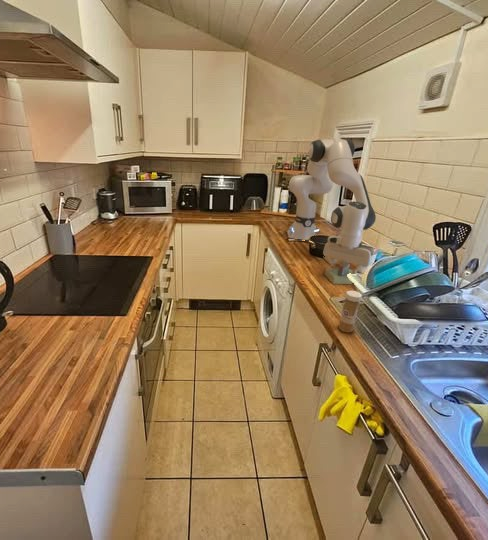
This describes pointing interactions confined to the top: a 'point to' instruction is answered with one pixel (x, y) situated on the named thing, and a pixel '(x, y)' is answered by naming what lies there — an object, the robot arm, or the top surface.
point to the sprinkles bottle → (349, 311)
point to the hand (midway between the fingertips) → (343, 270)
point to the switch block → (334, 260)
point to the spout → (343, 269)
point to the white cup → (363, 269)
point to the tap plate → (337, 276)
